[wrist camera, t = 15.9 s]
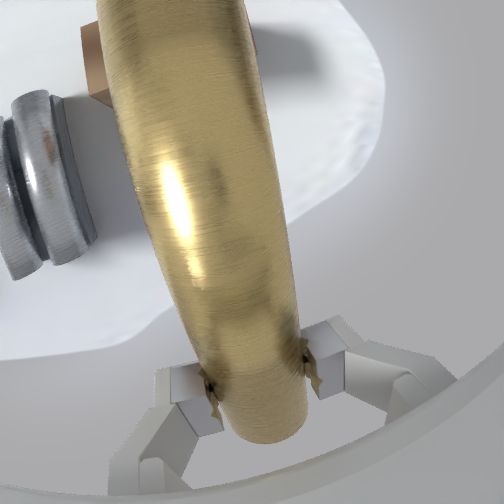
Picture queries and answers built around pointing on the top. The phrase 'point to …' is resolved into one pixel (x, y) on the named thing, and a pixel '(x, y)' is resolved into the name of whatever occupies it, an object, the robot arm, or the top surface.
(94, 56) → the slotted wooden block
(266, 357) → the axle
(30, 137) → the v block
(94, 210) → the top surface
